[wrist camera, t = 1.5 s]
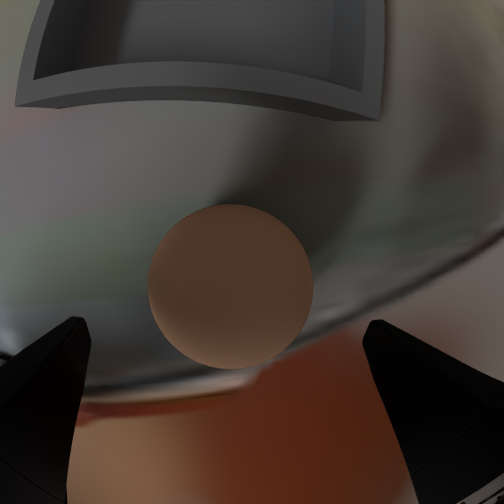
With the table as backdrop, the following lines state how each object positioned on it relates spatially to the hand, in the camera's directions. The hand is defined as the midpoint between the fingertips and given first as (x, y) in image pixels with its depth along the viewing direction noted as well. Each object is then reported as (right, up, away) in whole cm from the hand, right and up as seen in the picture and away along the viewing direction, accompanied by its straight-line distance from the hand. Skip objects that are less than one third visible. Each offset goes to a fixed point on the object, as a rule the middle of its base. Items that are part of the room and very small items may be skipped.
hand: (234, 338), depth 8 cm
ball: (0, +1, +2) cm, 3 cm away
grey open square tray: (-1, +14, 0) cm, 14 cm away
